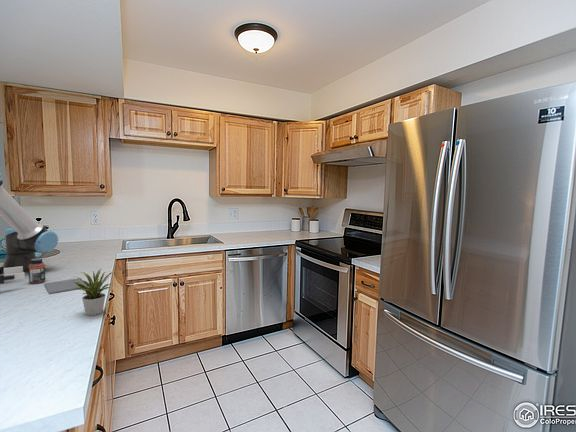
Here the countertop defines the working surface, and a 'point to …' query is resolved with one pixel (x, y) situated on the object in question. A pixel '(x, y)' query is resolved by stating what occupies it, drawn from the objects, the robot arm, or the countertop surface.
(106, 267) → the countertop surface
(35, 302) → the countertop surface
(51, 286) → the rubber mat
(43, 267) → the supplement bottle
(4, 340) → the countertop surface
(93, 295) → the house plant
